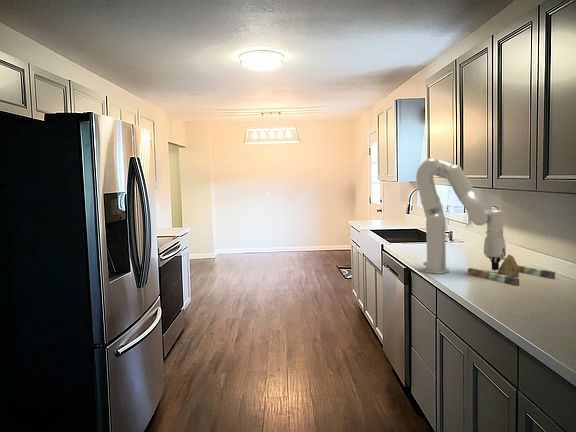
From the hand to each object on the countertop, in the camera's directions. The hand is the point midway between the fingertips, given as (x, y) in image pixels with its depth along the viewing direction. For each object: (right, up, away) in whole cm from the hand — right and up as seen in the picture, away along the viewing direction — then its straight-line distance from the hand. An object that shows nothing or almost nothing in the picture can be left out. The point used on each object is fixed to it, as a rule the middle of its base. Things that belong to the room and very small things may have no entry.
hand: (495, 269), depth 226 cm
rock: (+4, -2, -5) cm, 7 cm away
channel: (+4, -2, -8) cm, 9 cm away
